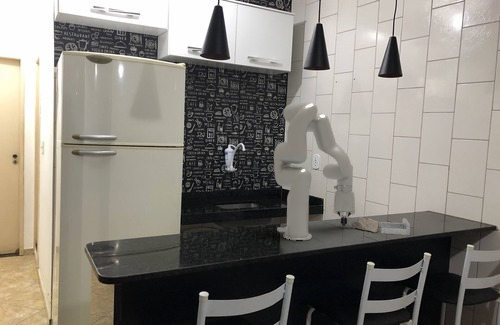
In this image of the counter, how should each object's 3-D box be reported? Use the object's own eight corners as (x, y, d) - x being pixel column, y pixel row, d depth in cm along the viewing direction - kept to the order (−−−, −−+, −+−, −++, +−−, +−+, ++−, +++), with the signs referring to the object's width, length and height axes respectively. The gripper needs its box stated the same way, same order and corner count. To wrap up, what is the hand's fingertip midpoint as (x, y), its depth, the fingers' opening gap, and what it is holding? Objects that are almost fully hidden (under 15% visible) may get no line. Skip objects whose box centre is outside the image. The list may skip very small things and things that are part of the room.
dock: (381, 233, 188) (381, 222, 188) (379, 226, 203) (379, 217, 202) (409, 235, 185) (410, 224, 185) (405, 228, 200) (405, 218, 199)
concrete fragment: (373, 233, 188) (374, 221, 188) (349, 228, 200) (350, 216, 199) (382, 231, 193) (383, 219, 192) (358, 226, 204) (359, 214, 203)
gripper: (328, 189, 197) (328, 225, 198) (360, 190, 193) (359, 227, 194) (329, 187, 204) (329, 222, 205) (360, 188, 201) (359, 224, 202)
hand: (343, 225), depth 200 cm, fingers closed
